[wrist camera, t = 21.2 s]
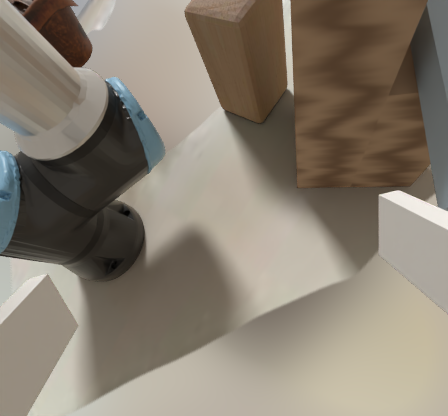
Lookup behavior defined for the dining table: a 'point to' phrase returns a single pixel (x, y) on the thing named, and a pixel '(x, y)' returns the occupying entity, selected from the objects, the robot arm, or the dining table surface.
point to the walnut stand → (357, 93)
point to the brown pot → (58, 27)
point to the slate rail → (434, 89)
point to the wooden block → (242, 52)
